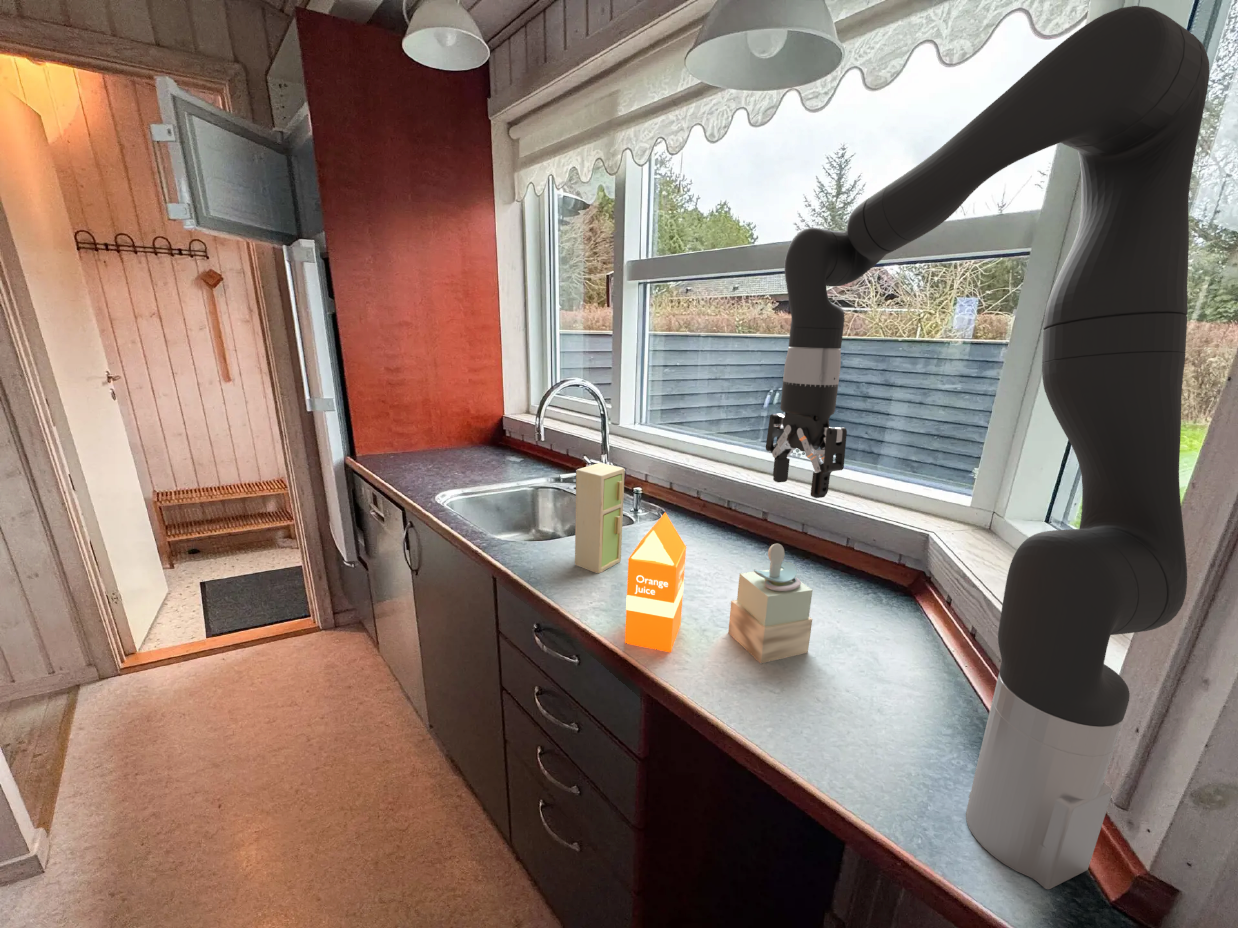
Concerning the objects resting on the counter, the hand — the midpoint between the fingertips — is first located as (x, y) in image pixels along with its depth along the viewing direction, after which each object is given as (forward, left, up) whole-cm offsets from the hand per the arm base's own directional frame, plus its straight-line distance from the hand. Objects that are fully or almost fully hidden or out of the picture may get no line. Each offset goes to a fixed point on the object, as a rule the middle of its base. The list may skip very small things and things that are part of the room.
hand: (798, 488), depth 81 cm
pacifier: (0, +1, -16) cm, 16 cm away
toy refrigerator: (+37, +18, -27) cm, 49 cm away
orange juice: (+9, +18, -27) cm, 33 cm away
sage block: (+1, +1, -21) cm, 21 cm away
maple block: (+1, +1, -27) cm, 27 cm away
